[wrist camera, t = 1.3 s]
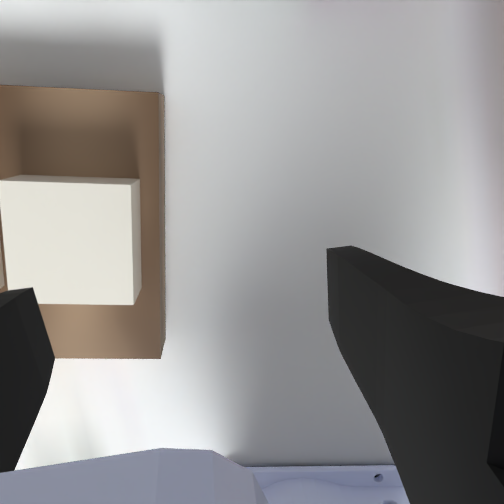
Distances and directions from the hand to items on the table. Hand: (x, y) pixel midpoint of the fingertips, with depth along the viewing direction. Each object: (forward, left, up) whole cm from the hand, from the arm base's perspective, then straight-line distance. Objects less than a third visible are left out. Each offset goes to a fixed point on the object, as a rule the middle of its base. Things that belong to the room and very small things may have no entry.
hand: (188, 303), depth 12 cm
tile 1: (+5, 0, -8) cm, 9 cm away
